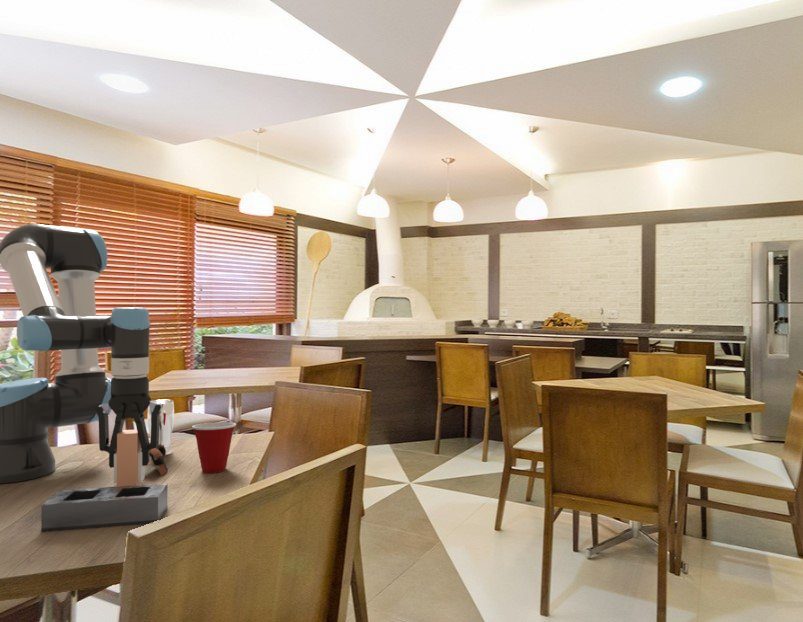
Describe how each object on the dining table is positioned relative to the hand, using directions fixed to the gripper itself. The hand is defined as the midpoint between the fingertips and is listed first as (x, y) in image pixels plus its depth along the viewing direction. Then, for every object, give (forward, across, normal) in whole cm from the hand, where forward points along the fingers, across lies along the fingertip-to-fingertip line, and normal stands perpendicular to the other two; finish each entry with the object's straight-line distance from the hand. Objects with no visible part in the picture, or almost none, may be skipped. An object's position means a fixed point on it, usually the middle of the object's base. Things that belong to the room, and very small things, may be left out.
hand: (129, 480), depth 114 cm
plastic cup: (+3, +16, +15) cm, 22 cm away
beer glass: (+3, -1, +34) cm, 34 cm away
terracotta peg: (+3, 0, 0) cm, 3 cm away
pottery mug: (+3, 0, +16) cm, 16 cm away
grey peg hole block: (+3, 0, -14) cm, 14 cm away
